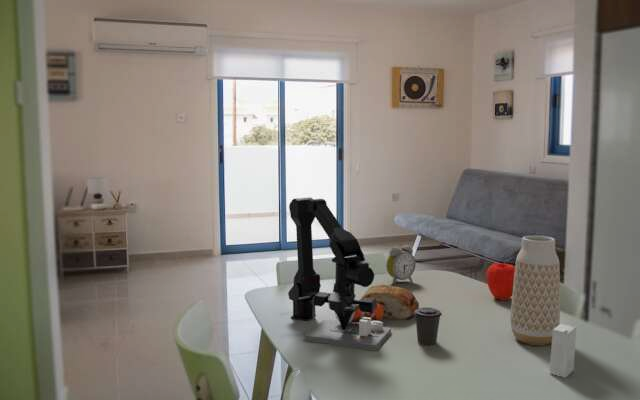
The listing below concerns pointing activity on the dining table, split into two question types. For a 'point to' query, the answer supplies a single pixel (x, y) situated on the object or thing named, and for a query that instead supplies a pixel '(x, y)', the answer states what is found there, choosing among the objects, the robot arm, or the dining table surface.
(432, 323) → the coffee cup
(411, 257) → the alarm clock
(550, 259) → the vase
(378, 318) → the coffee cup
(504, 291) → the apple
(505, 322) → the dining table surface
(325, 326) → the console
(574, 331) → the skincare box
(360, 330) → the fader
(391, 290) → the bread
